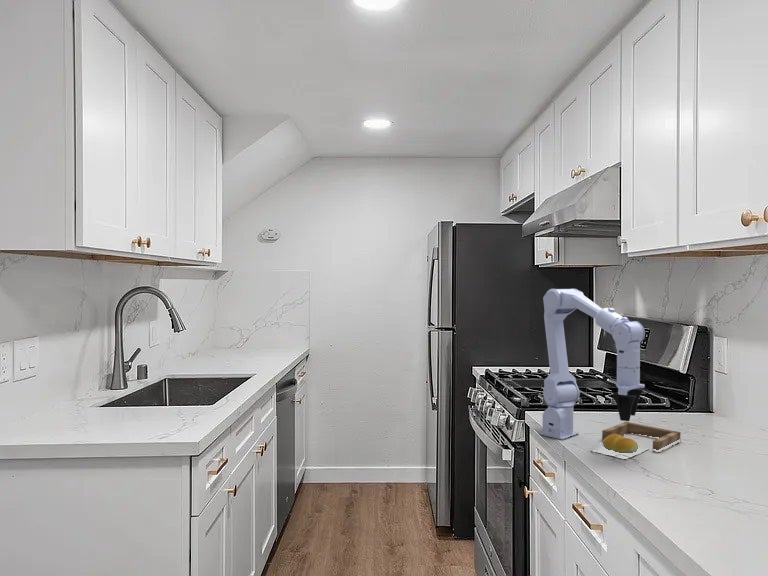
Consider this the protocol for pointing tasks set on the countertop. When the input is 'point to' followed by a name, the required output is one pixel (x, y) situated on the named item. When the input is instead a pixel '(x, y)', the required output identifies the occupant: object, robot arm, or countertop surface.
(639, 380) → the robot arm
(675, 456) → the countertop surface
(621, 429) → the frame
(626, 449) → the bread roll
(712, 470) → the countertop surface
